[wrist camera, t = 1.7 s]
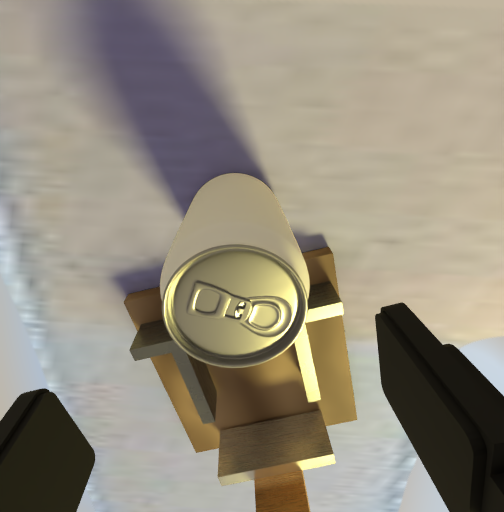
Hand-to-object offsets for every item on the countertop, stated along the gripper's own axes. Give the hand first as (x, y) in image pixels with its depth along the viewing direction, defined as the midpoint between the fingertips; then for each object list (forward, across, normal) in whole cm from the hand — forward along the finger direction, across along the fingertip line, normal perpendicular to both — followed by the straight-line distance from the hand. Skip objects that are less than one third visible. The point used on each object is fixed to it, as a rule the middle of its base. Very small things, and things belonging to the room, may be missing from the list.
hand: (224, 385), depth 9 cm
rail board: (+16, +1, +12) cm, 20 cm away
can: (+16, -1, 0) cm, 16 cm away
